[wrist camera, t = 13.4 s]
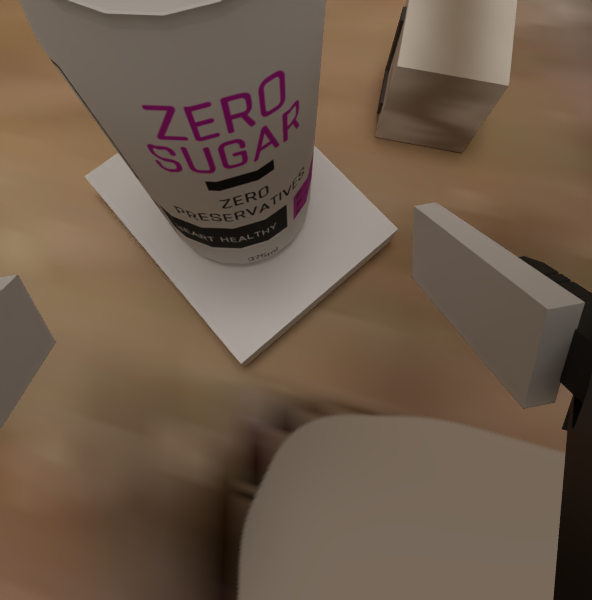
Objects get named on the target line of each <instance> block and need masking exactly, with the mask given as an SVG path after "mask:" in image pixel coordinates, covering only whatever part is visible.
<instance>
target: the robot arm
mask: <svg viewBox="0 0 592 600" xmlns="http://www.w3.org/2000/svg"><path fill="white" fill-rule="evenodd" d="M412 278H413V279H414V280H415V282H416V283H417V284H418V285H419V286H420V288H421V289H422V290H423V291H424V292H425V293H426V295H427V296H428V297H429V298H430V299H431V301H432V302H433V303H434V304H435V305H436V306H437V308H438V309H439V310H440V311H441V312H442V314H443V315H444V316H445V317H446V318H447V319H448V321H449V322H450V323H451V324H452V325H453V327H454V328H455V329H456V330H457V331H458V332H459V334H460V335H461V336H462V337H463V338H464V340H465V341H466V342H467V343H468V344H469V345H470V347H471V348H472V349H473V350H474V351H475V353H476V354H477V355H478V356H479V357H480V358H481V360H482V361H483V362H484V363H485V364H486V365H487V367H488V368H489V369H490V370H491V371H492V373H493V374H494V375H495V376H496V377H497V378H498V380H499V381H500V382H501V383H502V384H503V386H504V387H505V388H506V389H507V390H508V391H509V393H510V394H511V395H512V396H513V397H514V399H515V400H516V401H517V402H518V403H519V404H520V406H521V407H522V408H523V409H525V408H530V407H535V406H540V405H545V404H549V403H554V402H555V400H556V396H557V393H558V390H559V387H560V383H562V384H563V385H564V386H565V387H566V388H567V389H568V390H569V391H570V392H571V393H572V394H573V397H572V400H571V403H570V406H569V409H568V412H567V415H566V418H565V421H564V424H563V427H562V429H563V430H566V431H567V443H566V455H565V468H564V479H563V492H562V503H561V516H560V528H559V539H558V551H557V564H556V576H555V587H554V600H592V293H590V292H589V291H587V290H586V289H584V288H583V287H581V286H579V285H578V284H576V283H575V282H570V279H568V278H567V277H565V276H564V275H562V274H558V272H557V271H556V270H554V269H553V268H551V267H549V266H548V265H546V264H545V263H543V262H540V261H537V260H534V259H531V258H528V257H525V256H523V257H517V256H515V255H514V254H512V253H511V252H509V251H508V250H506V249H505V248H503V247H502V246H500V245H499V244H497V243H496V242H494V241H493V240H491V239H490V238H488V237H487V236H485V235H484V234H482V233H481V232H479V231H478V230H476V229H475V228H474V227H472V226H471V225H469V224H468V223H466V222H465V221H463V220H462V219H460V218H459V217H457V216H456V215H454V214H453V213H451V212H450V211H448V210H447V209H445V208H444V207H442V206H441V205H439V204H438V203H436V202H434V203H429V204H423V205H417V206H414V224H413V257H412ZM55 343H56V342H55V340H54V338H53V336H52V334H51V333H50V331H49V329H48V327H47V326H46V324H45V322H44V320H43V318H42V317H41V315H40V313H39V311H38V310H37V308H36V306H35V304H34V302H33V301H32V299H31V297H30V295H29V294H28V292H27V290H26V288H25V286H24V285H23V283H22V281H21V279H20V278H19V276H18V274H17V275H11V276H6V277H0V429H1V428H2V426H3V424H4V423H5V421H6V420H7V418H8V417H9V415H10V413H11V412H12V410H13V409H14V407H15V406H16V404H17V403H18V401H19V399H20V398H21V396H22V395H23V393H24V392H25V390H26V388H27V387H28V385H29V384H30V382H31V381H32V379H33V377H34V376H35V374H36V373H37V371H38V370H39V368H40V366H41V365H42V363H43V362H44V360H45V359H46V357H47V355H48V354H49V352H50V351H51V349H52V348H53V346H54V344H55Z"/></svg>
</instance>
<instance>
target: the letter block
mask: <svg viewBox="0 0 592 600" xmlns="http://www.w3.org/2000/svg"><path fill="white" fill-rule="evenodd" d="M516 7H517V0H407V2H406V5H405V7H403V9H402V13H401V16H400V20H399V23H398V27H397V30H396V34H395V37H394V41H393V44H392V48H391V52H390V55H389V59H388V62H387V66H386V69H385V74H384V80H383V85H382V90H381V96H380V101H379V106H378V112H377V114H379V117H378V123H377V128H376V134H375V137H378V138H384V139H389V140H394V141H400V142H405V143H411V144H416V145H421V146H427V147H432V148H437V149H443V150H448V151H454V152H459V153H462V152H463V151H464V149H465V148H466V147H467V145H468V144H469V142H470V141H471V139H472V138H473V137H474V135H475V134H476V132H477V131H478V129H479V128H480V126H481V125H482V124H483V122H484V121H485V119H486V118H487V116H488V115H489V114H490V112H491V111H492V109H493V108H494V106H495V105H496V103H497V102H498V101H499V99H500V98H501V96H502V95H503V93H504V92H505V91H506V89H507V88H508V86H509V79H510V68H511V58H512V48H513V37H514V27H515V17H516Z"/></svg>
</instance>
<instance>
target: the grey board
mask: <svg viewBox="0 0 592 600" xmlns="http://www.w3.org/2000/svg"><path fill="white" fill-rule="evenodd" d="M85 178H86V179H87V180H88V181H89V182H90V184H91V185H92V186H93V187H94V188H95V190H96V191H97V192H98V193H99V194H100V196H101V197H102V198H103V199H104V200H105V202H106V203H107V204H108V205H109V206H110V208H111V209H112V210H113V211H114V212H115V214H116V215H117V216H118V217H119V218H120V220H121V221H122V222H123V223H124V224H125V226H126V227H127V228H128V229H129V230H130V232H131V233H132V234H133V235H134V236H135V238H136V239H137V240H138V241H139V242H140V244H141V245H142V246H143V247H144V248H145V250H146V251H147V252H148V253H149V254H150V256H151V257H152V258H153V259H154V260H155V262H156V263H157V264H158V265H159V266H160V268H161V269H162V270H163V271H164V272H165V274H166V275H167V276H168V277H169V278H170V280H171V281H172V282H173V283H174V284H175V286H176V287H177V288H178V289H179V290H180V292H181V293H182V294H183V295H184V296H185V298H186V299H187V300H188V301H189V302H190V304H191V305H192V306H193V307H194V308H195V310H196V311H197V312H198V313H199V314H200V316H201V317H202V318H203V319H204V320H205V322H206V323H207V324H208V325H209V326H210V328H211V329H212V330H213V331H214V332H215V334H216V335H217V336H218V337H219V338H220V340H221V341H222V342H223V343H224V344H225V346H226V347H227V348H228V349H229V350H230V352H231V353H232V354H233V355H234V356H235V358H236V359H237V360H238V361H239V362H240V364H242V365H243V366H247V365H248V364H249V363H250V362H251V361H252V360H254V359H255V358H256V357H257V356H258V355H259V354H260V353H262V352H263V351H264V350H265V349H266V348H267V347H269V346H270V345H271V344H272V343H273V342H274V341H276V340H277V339H278V338H279V337H280V336H281V335H283V334H284V333H285V332H286V331H287V330H288V329H290V328H291V327H292V326H293V325H294V324H295V323H296V322H298V321H299V320H300V319H301V318H302V317H303V316H305V315H306V314H307V313H308V312H309V311H310V310H312V309H313V308H314V307H315V306H316V305H317V304H319V303H320V302H321V301H322V300H323V299H324V298H326V297H327V296H328V295H329V294H330V293H331V292H332V291H334V290H335V289H336V288H337V287H338V286H339V285H341V284H342V283H343V282H344V281H345V280H346V279H348V278H349V277H350V276H351V275H352V274H353V273H355V272H356V271H357V270H358V269H359V268H360V267H362V266H363V265H364V264H365V263H366V262H367V261H369V260H370V259H371V258H372V257H373V256H374V255H375V254H377V253H378V252H379V251H380V250H381V249H382V248H384V247H385V246H386V245H387V244H388V243H389V242H390V241H391V240H392V238H393V237H394V235H395V233H396V232H397V230H398V228H397V227H396V226H395V225H394V224H393V223H392V222H391V221H390V220H389V219H388V218H387V217H386V216H385V215H384V214H383V213H382V212H381V211H380V210H379V209H377V208H376V207H375V206H374V205H373V204H372V203H371V202H370V201H369V200H368V199H367V198H366V197H365V196H364V195H363V194H362V193H361V192H360V191H359V190H358V189H357V188H356V187H355V186H354V185H353V184H352V183H351V182H350V181H349V180H348V179H347V178H346V177H345V176H344V175H343V174H342V173H341V172H340V171H339V170H338V169H337V168H336V167H335V166H334V165H333V164H332V163H331V162H330V161H329V160H328V159H327V158H326V157H325V156H324V155H323V154H322V153H321V152H320V151H319V150H318V149H317V148H316V147H315V146H314V155H313V167H312V180H311V192H310V201H309V206H308V210H307V215H306V219H305V222H304V224H303V225H302V227H301V228H300V230H299V231H298V233H297V234H296V236H295V237H294V239H293V240H292V242H290V243H289V244H288V245H286V246H285V247H283V248H282V249H281V250H279V251H278V252H277V253H275V254H274V255H272V256H271V257H268V258H264V259H261V260H258V261H254V262H251V263H248V264H238V263H220V262H217V261H215V260H212V259H210V258H207V257H205V256H202V255H200V254H197V253H196V252H195V251H194V250H193V249H192V248H191V247H190V246H189V245H187V244H186V243H185V242H184V241H183V240H182V239H181V238H180V237H179V236H178V234H177V233H176V232H175V230H174V229H173V228H172V226H171V225H170V223H169V222H168V221H167V219H166V218H165V216H164V215H163V214H162V212H161V211H160V210H159V208H158V207H157V205H156V204H155V203H154V201H153V200H152V199H151V197H150V196H149V194H148V193H147V192H146V190H145V189H144V188H143V186H142V185H141V183H140V182H139V181H138V179H137V178H136V176H135V175H134V174H133V172H132V171H131V170H130V168H129V167H128V165H127V164H126V163H125V161H124V160H123V159H122V157H121V156H120V154H119V153H117V154H116V155H114V156H113V157H111V158H110V159H109V160H107V161H106V162H104V163H103V164H101V165H100V166H99V167H97V168H96V169H94V170H93V171H92V172H90V173H89V174H87V175H86V176H85Z"/></svg>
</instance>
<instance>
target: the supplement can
mask: <svg viewBox="0 0 592 600" xmlns="http://www.w3.org/2000/svg"><path fill="white" fill-rule="evenodd" d="M19 2H20V4H21V6H22V8H23V10H24V13H25V15H26V17H27V19H28V21H29V24H30V26H31V28H32V30H33V32H34V35H35V37H36V39H37V41H38V43H39V44H40V45H41V47H42V48H43V50H44V51H45V52H46V54H47V55H48V56H49V58H50V59H51V61H52V62H53V63H54V65H55V66H56V67H57V69H58V70H59V72H60V73H61V74H62V76H63V77H64V79H65V80H66V81H67V83H68V84H69V85H70V87H71V88H72V90H73V91H74V92H75V94H76V95H77V96H78V98H79V99H80V101H81V102H82V103H83V105H84V106H85V107H86V109H87V110H88V112H89V113H90V114H91V116H92V117H93V119H94V120H95V121H96V123H97V124H98V125H99V127H100V128H101V130H102V131H103V132H104V134H105V135H106V136H107V138H108V139H109V141H110V142H111V143H112V145H113V146H114V148H115V149H116V150H117V152H118V153H119V154H120V156H121V157H122V159H123V160H124V161H125V163H126V164H127V165H128V167H129V168H130V170H131V171H132V172H133V174H134V175H135V176H136V178H137V179H138V181H139V182H140V183H141V185H142V186H143V188H144V189H145V190H146V192H147V193H148V194H149V196H150V197H151V199H152V200H153V201H154V203H155V204H156V205H157V207H158V208H159V210H160V211H161V212H162V214H163V215H164V216H165V218H166V219H167V221H168V222H169V223H170V225H171V226H172V228H173V229H174V230H175V232H176V233H177V234H178V236H179V237H180V238H181V239H182V240H183V241H184V242H185V243H186V244H187V245H189V246H190V247H191V248H192V249H193V250H194V251H195V252H196V253H197V254H200V255H202V256H205V257H207V258H210V259H212V260H215V261H217V262H220V263H238V264H248V263H251V262H254V261H258V260H261V259H264V258H268V257H271V256H272V255H274V254H275V253H277V252H278V251H279V250H281V249H282V248H283V247H285V246H286V245H288V244H289V243H290V242H292V240H293V239H294V237H295V236H296V234H297V233H298V231H299V230H300V228H301V227H302V225H303V224H304V222H305V219H306V215H307V210H308V206H309V201H310V192H311V180H312V167H313V155H314V143H315V130H316V118H317V105H318V93H319V80H320V68H321V55H322V43H323V31H324V18H325V6H326V0H19Z"/></svg>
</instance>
